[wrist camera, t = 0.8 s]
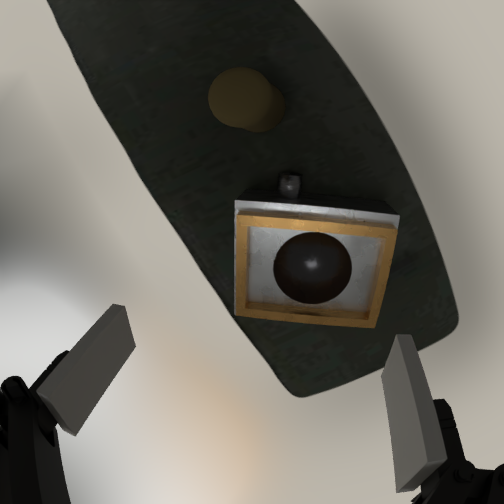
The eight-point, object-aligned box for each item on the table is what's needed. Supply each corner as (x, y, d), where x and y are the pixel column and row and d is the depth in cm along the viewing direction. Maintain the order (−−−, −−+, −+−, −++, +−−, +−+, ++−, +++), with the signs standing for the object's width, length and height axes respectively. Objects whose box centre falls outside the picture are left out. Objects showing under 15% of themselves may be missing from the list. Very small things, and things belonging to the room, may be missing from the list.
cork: (220, 101, 31) (183, 90, 21) (264, 70, 29) (244, 43, 19) (251, 143, 32) (226, 148, 22) (296, 113, 30) (292, 103, 20)
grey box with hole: (247, 168, 33) (231, 177, 27) (387, 180, 31) (408, 194, 24) (244, 289, 39) (231, 322, 33) (366, 300, 37) (376, 335, 30)
